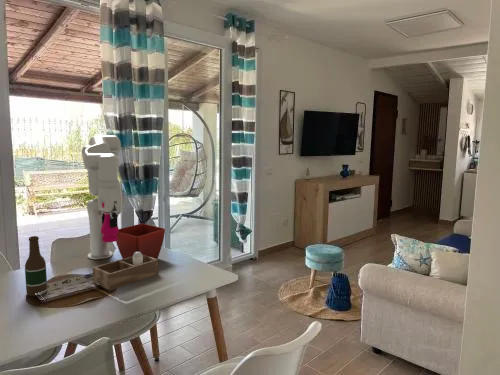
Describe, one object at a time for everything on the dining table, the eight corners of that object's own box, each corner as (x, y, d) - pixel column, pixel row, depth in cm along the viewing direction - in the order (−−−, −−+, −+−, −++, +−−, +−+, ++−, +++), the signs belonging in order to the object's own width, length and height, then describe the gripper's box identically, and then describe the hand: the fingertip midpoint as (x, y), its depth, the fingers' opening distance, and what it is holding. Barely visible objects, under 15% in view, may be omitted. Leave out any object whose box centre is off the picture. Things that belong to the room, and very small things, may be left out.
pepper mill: (101, 243, 157) (100, 197, 154) (100, 238, 163) (99, 193, 160) (119, 241, 160) (119, 196, 157) (117, 237, 166) (116, 193, 163)
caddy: (93, 284, 164) (92, 267, 163) (141, 269, 184) (141, 253, 183) (109, 292, 156) (109, 274, 155) (158, 275, 176) (157, 259, 175)
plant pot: (137, 269, 184) (137, 236, 181) (113, 261, 194) (112, 230, 192) (166, 259, 199) (166, 228, 197) (142, 252, 210) (142, 223, 207)
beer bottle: (44, 287, 160) (41, 233, 157) (50, 293, 155) (47, 237, 152) (24, 292, 155) (20, 236, 152) (29, 298, 150) (25, 240, 146)
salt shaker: (131, 274, 174) (130, 251, 173) (139, 271, 178) (138, 249, 176) (136, 276, 172) (136, 253, 170) (144, 274, 175) (144, 251, 173)
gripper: (89, 183, 160) (91, 223, 163) (111, 187, 150) (112, 231, 152) (105, 181, 166) (107, 220, 169) (127, 185, 155) (128, 227, 158)
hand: (109, 225), depth 161 cm, fingers closed on pepper mill, 5 cm apart
